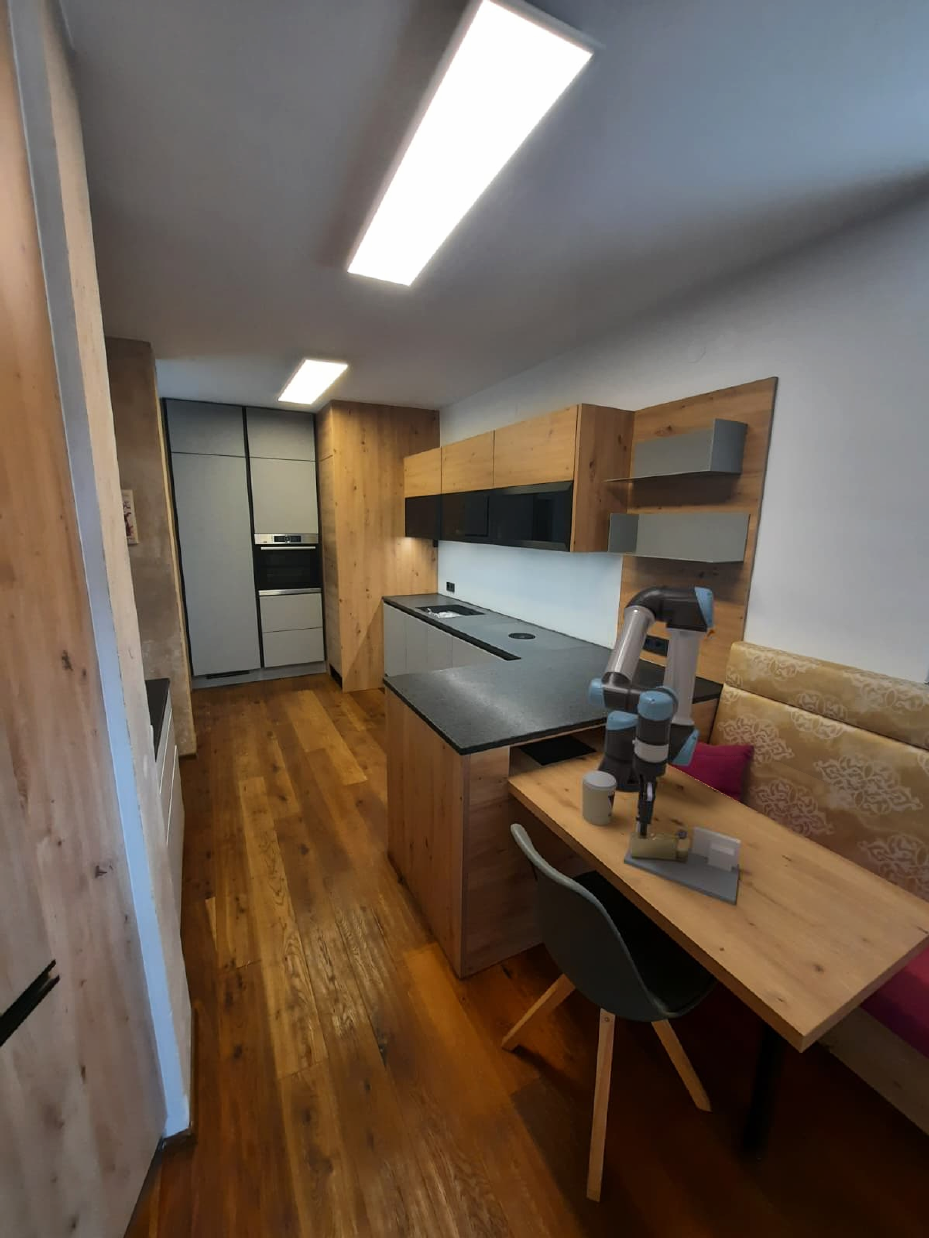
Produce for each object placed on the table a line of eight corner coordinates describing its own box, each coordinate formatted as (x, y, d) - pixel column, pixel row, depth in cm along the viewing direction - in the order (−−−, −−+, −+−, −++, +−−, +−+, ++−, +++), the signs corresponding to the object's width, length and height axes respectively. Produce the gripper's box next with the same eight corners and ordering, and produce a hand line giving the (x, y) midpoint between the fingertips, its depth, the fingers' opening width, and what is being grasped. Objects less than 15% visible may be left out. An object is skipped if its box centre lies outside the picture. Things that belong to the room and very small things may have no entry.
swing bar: (684, 852, 119) (687, 832, 118) (690, 862, 116) (692, 842, 115) (628, 848, 121) (630, 828, 120) (631, 857, 117) (634, 837, 116)
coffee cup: (615, 829, 131) (618, 789, 128) (580, 824, 132) (583, 784, 130) (611, 809, 140) (615, 772, 137) (579, 805, 141) (581, 768, 139)
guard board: (637, 833, 129) (640, 804, 128) (738, 868, 116) (743, 837, 115) (623, 862, 118) (626, 831, 116) (734, 905, 105) (739, 871, 103)
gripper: (632, 741, 123) (624, 824, 127) (635, 765, 111) (627, 855, 115) (663, 746, 121) (654, 829, 125) (670, 770, 109) (660, 862, 113)
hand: (641, 842), depth 120 cm, fingers closed
